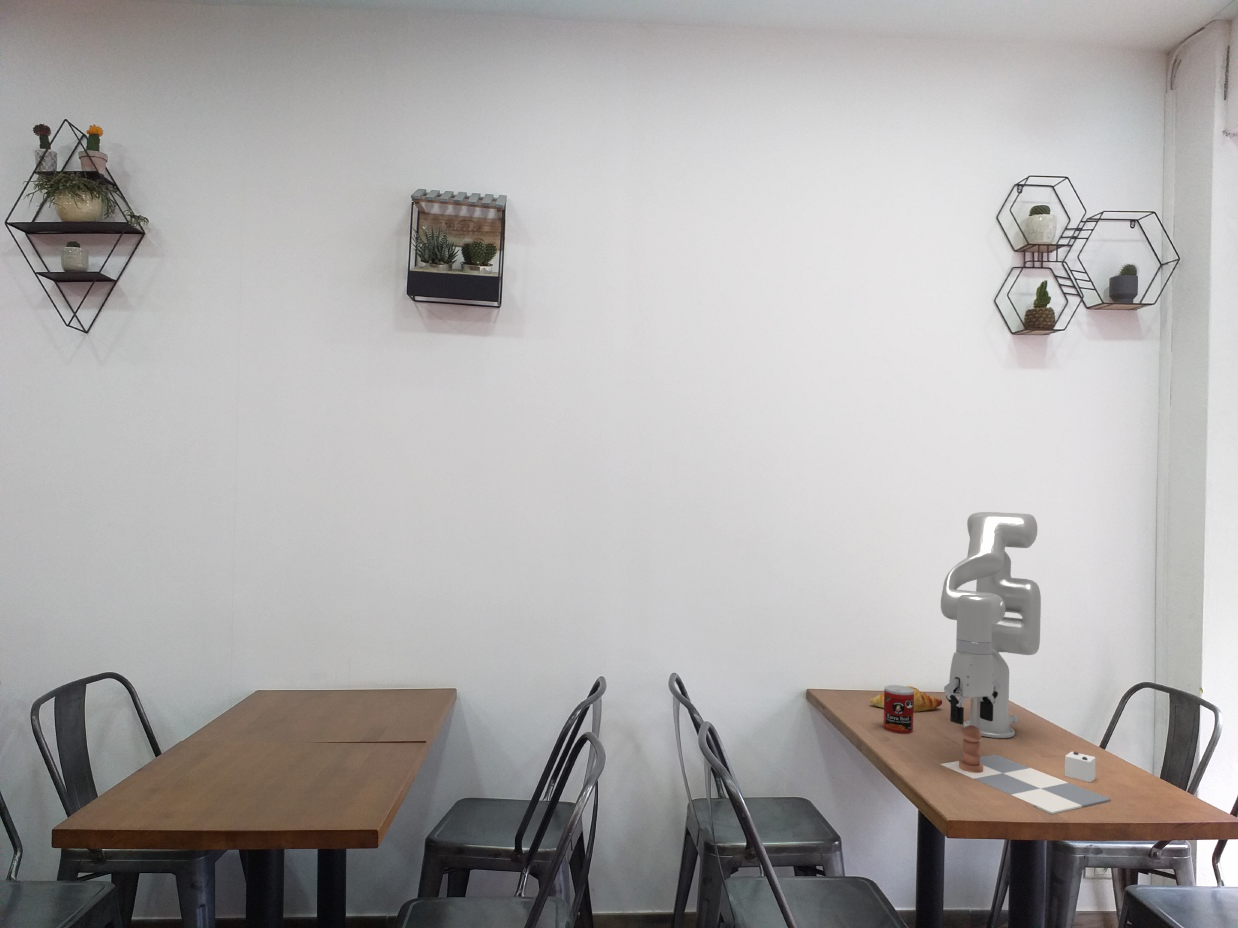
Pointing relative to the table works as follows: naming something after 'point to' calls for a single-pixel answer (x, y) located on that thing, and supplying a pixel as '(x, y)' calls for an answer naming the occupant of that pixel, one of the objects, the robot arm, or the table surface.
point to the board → (1031, 785)
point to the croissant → (920, 701)
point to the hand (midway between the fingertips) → (971, 721)
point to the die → (1080, 766)
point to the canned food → (898, 708)
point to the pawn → (971, 750)
